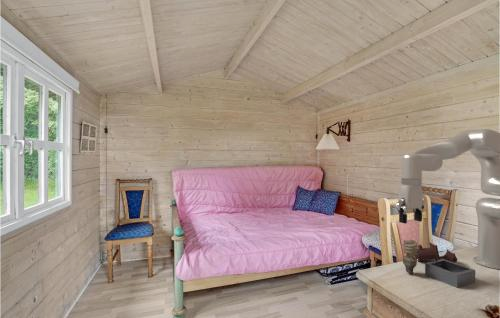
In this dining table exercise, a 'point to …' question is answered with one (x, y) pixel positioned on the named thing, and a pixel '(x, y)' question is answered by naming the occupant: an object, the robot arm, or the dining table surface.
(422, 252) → the dark brown lumpy piece
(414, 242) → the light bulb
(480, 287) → the dining table surface
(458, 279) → the frame
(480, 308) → the dining table surface
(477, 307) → the dining table surface
